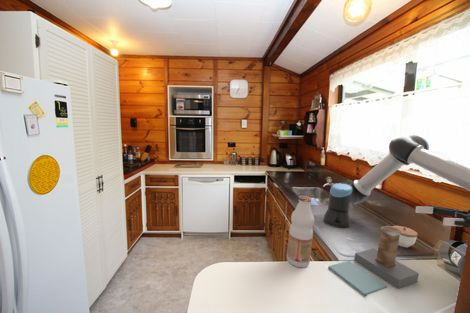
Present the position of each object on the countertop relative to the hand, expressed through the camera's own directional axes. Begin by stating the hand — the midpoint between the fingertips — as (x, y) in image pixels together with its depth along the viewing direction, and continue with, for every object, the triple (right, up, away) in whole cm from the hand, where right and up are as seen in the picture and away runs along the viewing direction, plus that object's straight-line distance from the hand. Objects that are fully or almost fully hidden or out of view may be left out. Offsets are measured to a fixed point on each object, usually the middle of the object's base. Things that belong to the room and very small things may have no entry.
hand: (429, 215), depth 89 cm
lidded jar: (+10, -22, +28) cm, 37 cm away
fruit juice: (-50, -21, +6) cm, 55 cm away
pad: (-30, -24, -2) cm, 38 cm away
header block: (-16, -24, +3) cm, 29 cm away
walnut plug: (-16, -23, +3) cm, 28 cm away
